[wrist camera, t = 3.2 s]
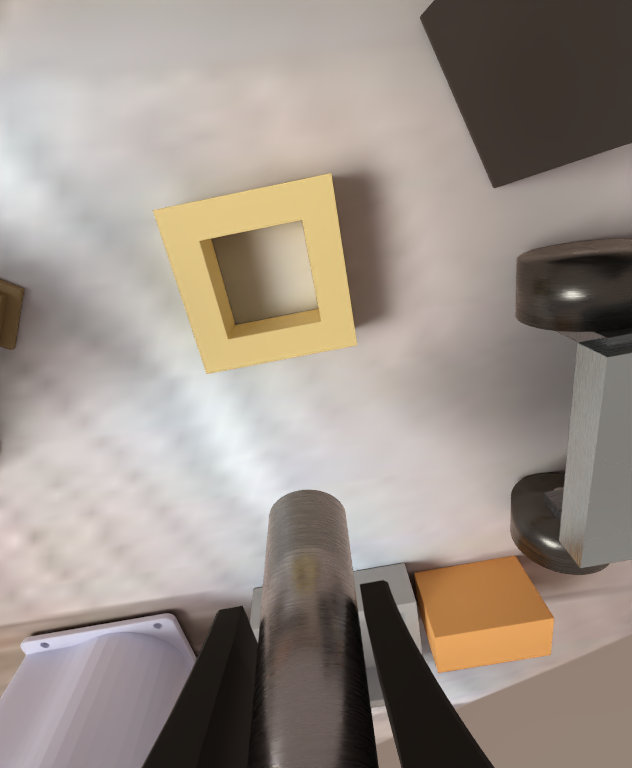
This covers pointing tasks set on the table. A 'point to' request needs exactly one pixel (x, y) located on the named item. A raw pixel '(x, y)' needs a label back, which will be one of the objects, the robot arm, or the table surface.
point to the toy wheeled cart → (582, 407)
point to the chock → (483, 614)
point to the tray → (403, 600)
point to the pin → (310, 644)
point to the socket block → (207, 291)
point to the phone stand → (536, 78)
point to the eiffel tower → (9, 313)
